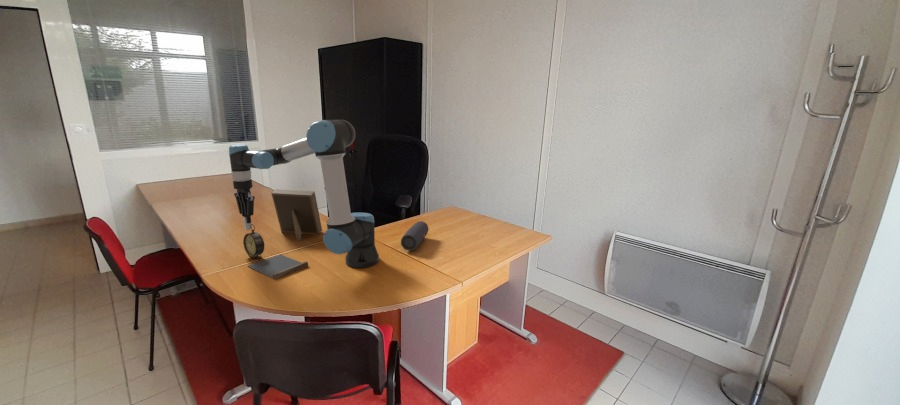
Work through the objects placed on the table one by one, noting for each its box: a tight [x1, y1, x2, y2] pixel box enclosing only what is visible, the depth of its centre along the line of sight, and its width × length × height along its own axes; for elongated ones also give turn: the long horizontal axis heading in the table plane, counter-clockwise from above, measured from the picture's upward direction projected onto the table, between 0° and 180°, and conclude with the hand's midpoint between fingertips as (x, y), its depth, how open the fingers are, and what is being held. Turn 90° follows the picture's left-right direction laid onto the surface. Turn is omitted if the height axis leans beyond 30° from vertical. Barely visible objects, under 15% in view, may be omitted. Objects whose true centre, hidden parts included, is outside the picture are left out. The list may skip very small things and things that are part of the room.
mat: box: [247, 254, 302, 279], centre depth 165 cm, size 20×16×1 cm
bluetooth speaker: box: [400, 220, 430, 251], centre depth 193 cm, size 23×9×10 cm, turn 168°
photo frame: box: [270, 188, 323, 241], centre depth 199 cm, size 15×22×25 cm
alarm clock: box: [242, 223, 265, 261], centre depth 172 cm, size 11×5×16 cm, turn 56°
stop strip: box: [272, 260, 309, 280], centre depth 159 cm, size 2×16×2 cm, turn 147°
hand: (248, 229), depth 172 cm, fingers closed
